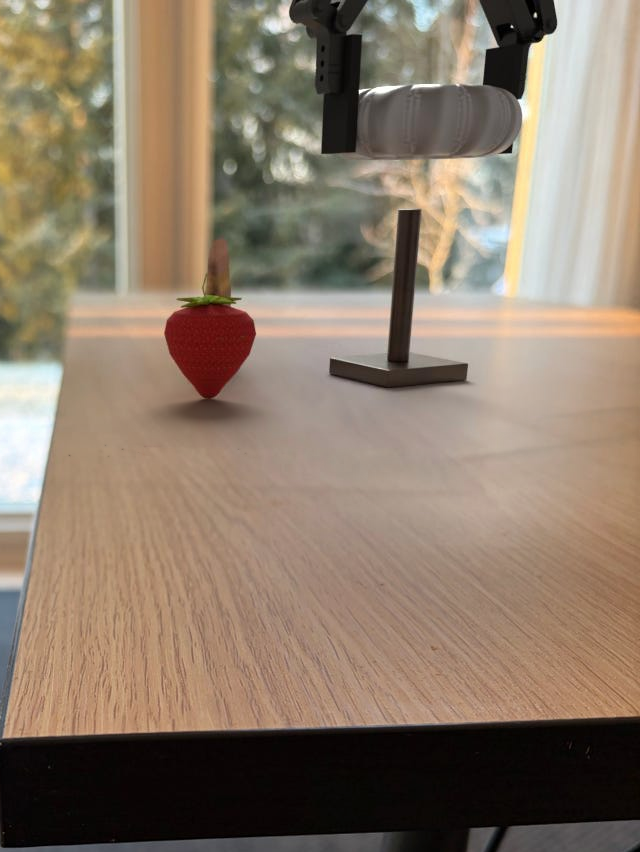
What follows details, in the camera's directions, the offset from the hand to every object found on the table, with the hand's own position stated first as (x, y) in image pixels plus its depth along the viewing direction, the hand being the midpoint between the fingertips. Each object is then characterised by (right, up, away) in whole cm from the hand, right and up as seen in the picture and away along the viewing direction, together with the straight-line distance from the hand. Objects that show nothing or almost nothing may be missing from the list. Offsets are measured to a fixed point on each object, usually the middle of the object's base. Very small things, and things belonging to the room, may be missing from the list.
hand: (418, 154), depth 70 cm
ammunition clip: (-12, -6, +32) cm, 35 cm away
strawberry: (-13, -12, +18) cm, 26 cm away
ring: (0, +2, -1) cm, 2 cm away
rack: (+5, -8, +28) cm, 30 cm away
